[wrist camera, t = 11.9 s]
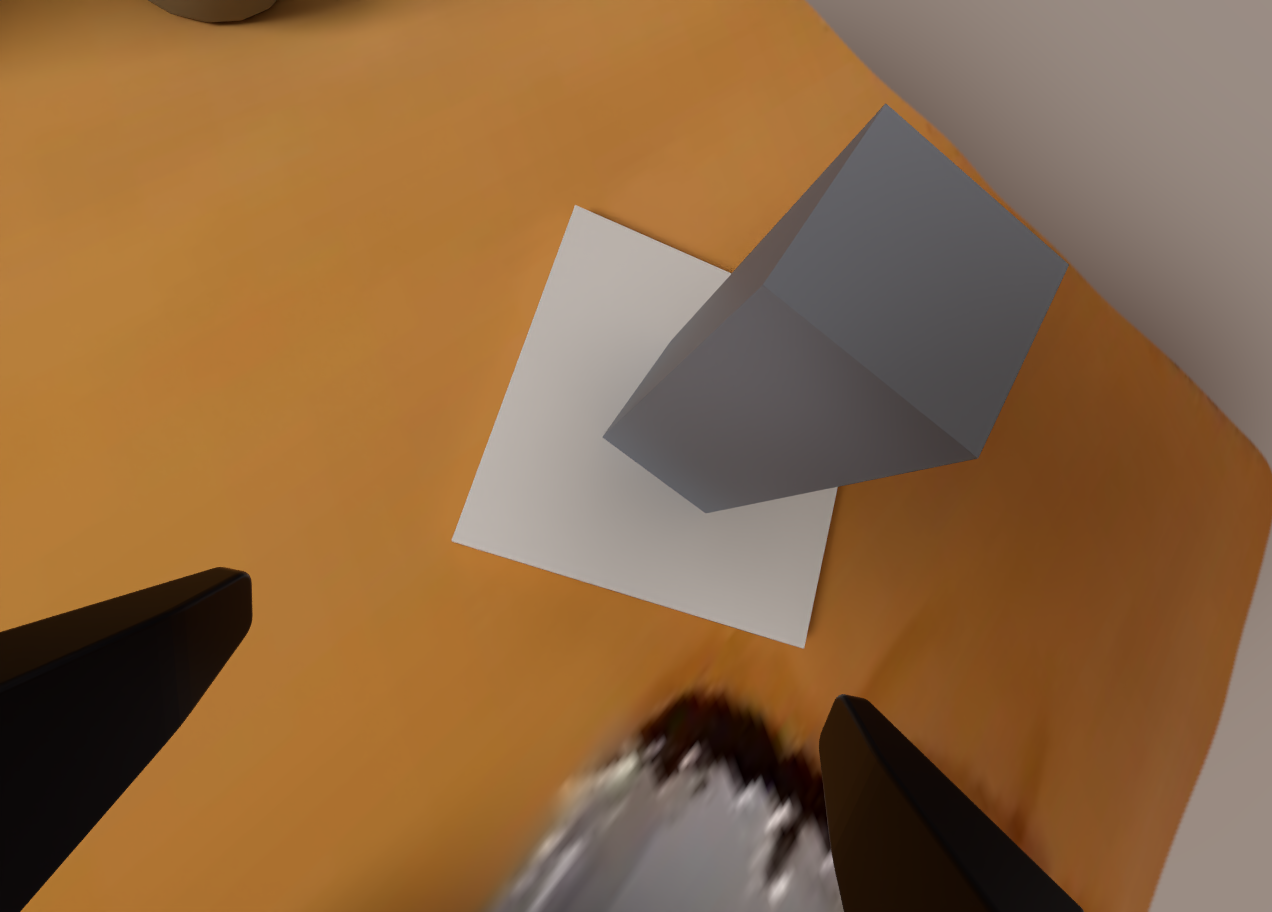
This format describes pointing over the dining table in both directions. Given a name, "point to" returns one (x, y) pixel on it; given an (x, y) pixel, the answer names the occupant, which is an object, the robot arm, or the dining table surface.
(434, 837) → the dining table surface
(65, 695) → the robot arm
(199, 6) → the squeeze bottle
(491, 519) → the white plate
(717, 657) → the dining table surface
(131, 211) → the dining table surface
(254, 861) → the dining table surface
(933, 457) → the tall block
